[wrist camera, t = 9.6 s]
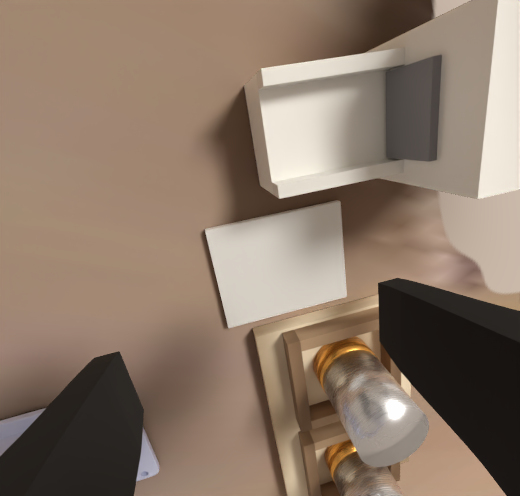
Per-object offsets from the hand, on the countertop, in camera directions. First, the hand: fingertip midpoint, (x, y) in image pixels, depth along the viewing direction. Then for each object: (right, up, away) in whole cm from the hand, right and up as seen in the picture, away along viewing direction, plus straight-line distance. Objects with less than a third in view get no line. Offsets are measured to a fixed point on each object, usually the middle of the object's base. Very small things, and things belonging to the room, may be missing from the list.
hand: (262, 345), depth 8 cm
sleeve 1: (+6, -5, +13) cm, 15 cm away
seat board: (+6, -9, +15) cm, 19 cm away
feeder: (+5, +10, +8) cm, 14 cm away
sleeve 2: (+7, -14, +16) cm, 22 cm away
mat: (+1, +2, +10) cm, 11 cm away
